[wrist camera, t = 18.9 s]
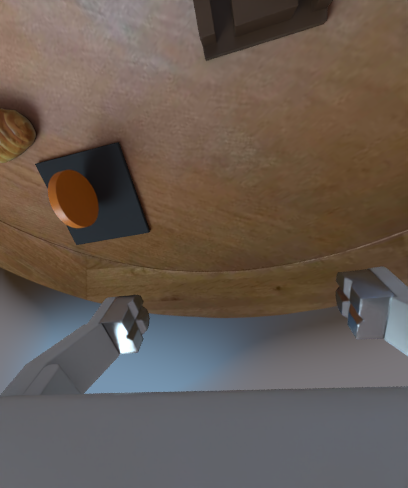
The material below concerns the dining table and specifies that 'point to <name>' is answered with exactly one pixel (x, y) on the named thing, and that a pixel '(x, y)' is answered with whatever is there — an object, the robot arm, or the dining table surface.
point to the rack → (253, 22)
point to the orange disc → (73, 199)
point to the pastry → (14, 134)
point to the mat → (103, 192)
